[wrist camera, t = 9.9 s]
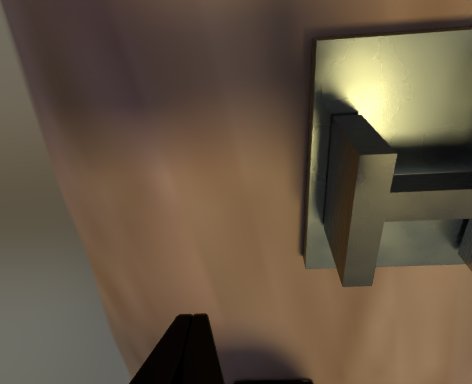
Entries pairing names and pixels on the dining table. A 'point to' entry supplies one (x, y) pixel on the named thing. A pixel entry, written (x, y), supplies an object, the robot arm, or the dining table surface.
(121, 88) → the dining table surface
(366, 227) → the jaw
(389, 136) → the vise
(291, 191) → the dining table surface
